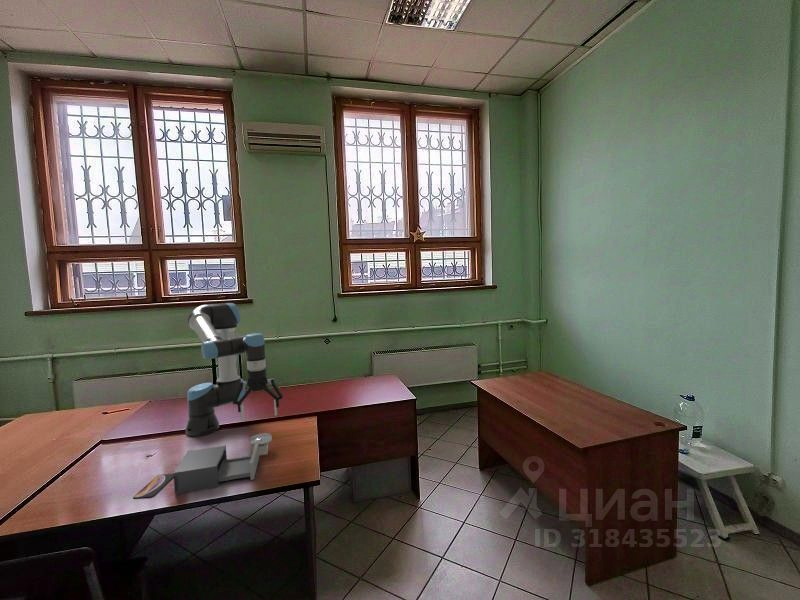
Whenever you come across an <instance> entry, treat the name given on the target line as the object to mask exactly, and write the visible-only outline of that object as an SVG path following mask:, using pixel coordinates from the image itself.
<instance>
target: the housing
mask: <svg viewBox="0 0 800 600" xmlns="http://www.w3.org/2000/svg"><path fill="white" fill-rule="evenodd" d="M226 445H227V444H226ZM226 445H225V444H224V445H219V446H213V447H211V446H210V447H206V448H199V449H193V450H187V452H186V453H185V455H184V456H183V458H182V459H181V461H179V464H178V465H177V467H176V468H175V469H174V472H173V473H172V474H174V478H173V487H174V495H180V494H186V493H191V492H197V491H203V490H207V489H213V488H218V487H219V485H220V483H221V482H218V469H219V467H220V465H221V462H222V460H226V459H228V458H227V446H226Z"/></svg>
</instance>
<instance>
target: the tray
mask: <svg viewBox="0 0 800 600" xmlns="http://www.w3.org/2000/svg"><path fill="white" fill-rule="evenodd" d="M259 461H260V456H259V450H258V443H256V444H255V446H253V450H252V454H251V455H246V456H245V455H244V456H240V457H233V458H227V459H226V460H222V462H221V465H220V467H219V469H218V482H220V483H221V482H224V481H225V482H226V481H231V480H238V479H242V478H249V477H250V481H252V480H255V476H256V473H257V468H258V465H259V464H258V463H259Z"/></svg>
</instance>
